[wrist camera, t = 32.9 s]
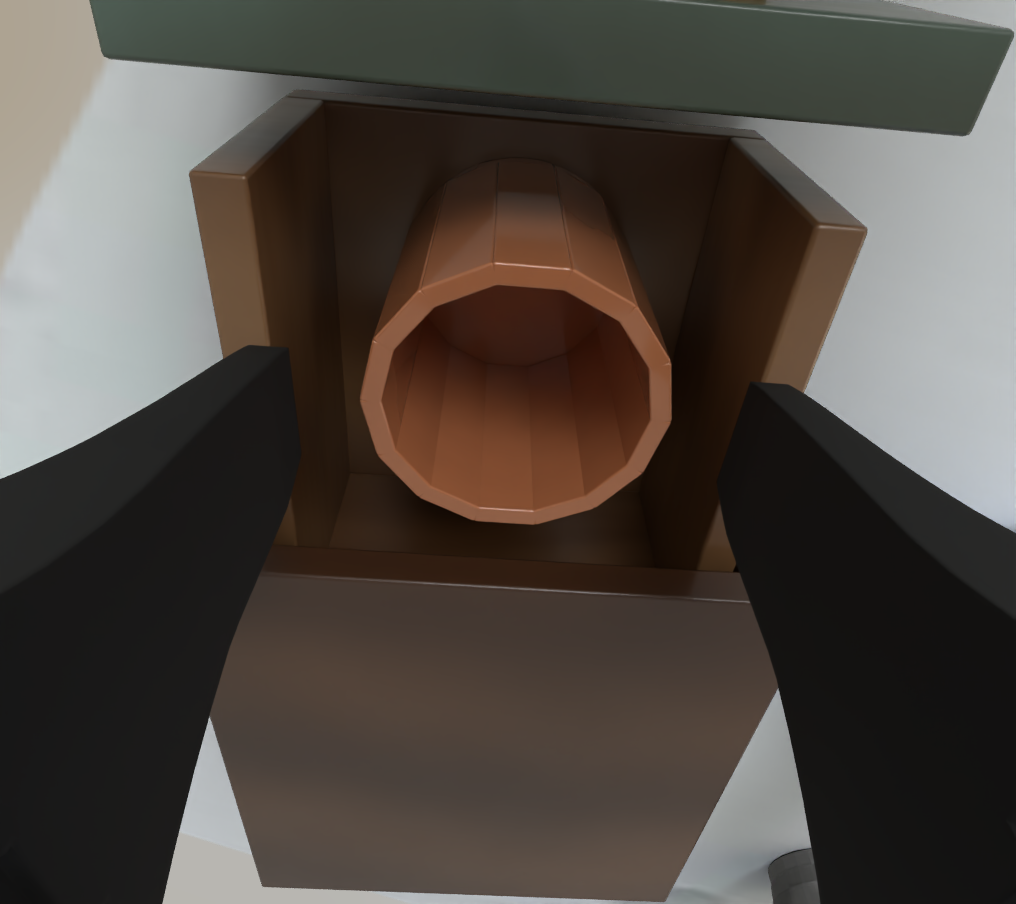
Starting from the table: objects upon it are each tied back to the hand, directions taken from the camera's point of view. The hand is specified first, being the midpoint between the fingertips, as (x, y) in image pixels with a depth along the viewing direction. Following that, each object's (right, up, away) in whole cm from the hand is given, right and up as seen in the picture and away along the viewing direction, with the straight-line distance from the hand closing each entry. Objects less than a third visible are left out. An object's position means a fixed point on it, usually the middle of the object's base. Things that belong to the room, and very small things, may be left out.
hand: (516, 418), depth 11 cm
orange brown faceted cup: (0, +3, +4) cm, 6 cm away
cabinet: (-1, -4, +12) cm, 13 cm away
